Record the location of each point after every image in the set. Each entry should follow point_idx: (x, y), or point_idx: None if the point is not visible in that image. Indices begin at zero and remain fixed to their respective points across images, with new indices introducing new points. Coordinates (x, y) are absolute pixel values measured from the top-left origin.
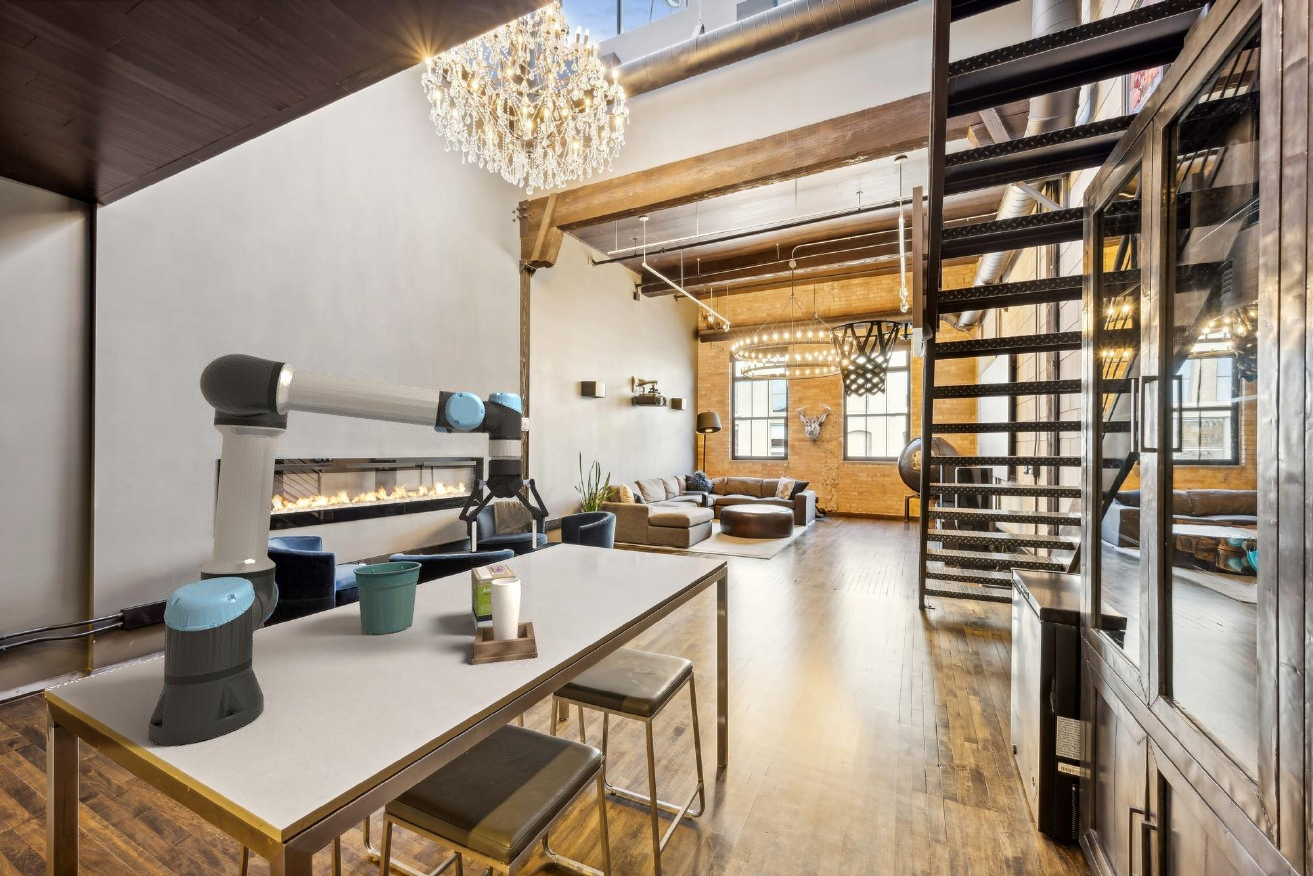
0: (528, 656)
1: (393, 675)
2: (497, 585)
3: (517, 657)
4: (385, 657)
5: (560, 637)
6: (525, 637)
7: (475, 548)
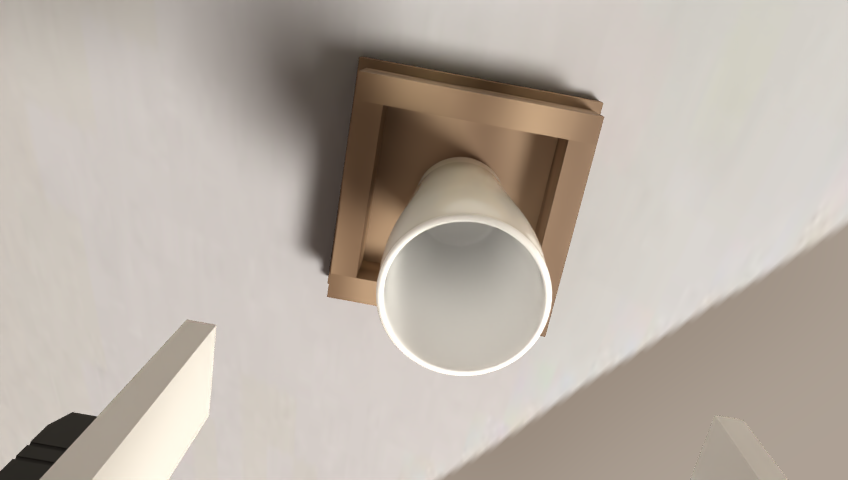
0: None
1: (96, 245)
2: (402, 351)
3: None
4: (36, 52)
5: (695, 153)
6: (554, 139)
7: (198, 429)
